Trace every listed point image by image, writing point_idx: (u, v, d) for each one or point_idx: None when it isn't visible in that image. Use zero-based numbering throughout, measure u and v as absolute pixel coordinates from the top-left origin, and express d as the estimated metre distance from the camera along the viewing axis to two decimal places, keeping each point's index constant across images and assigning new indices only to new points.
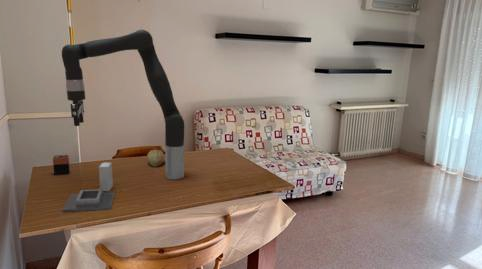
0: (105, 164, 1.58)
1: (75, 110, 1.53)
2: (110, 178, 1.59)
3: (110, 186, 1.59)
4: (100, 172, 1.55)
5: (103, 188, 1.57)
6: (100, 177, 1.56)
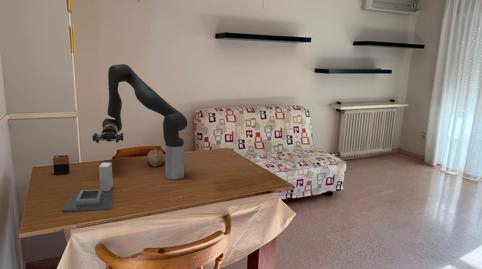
0: (105, 164, 1.58)
1: None
2: (110, 178, 1.59)
3: (110, 186, 1.59)
4: (100, 172, 1.55)
5: (103, 188, 1.57)
6: (100, 177, 1.56)
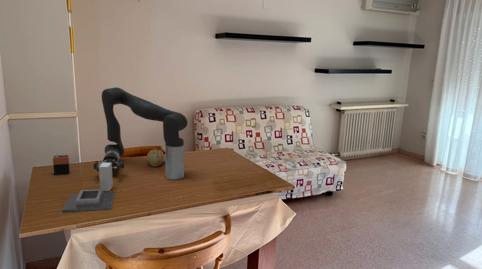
0: (105, 164, 1.58)
1: None
2: (110, 178, 1.59)
3: (110, 186, 1.59)
4: (100, 172, 1.55)
5: (103, 188, 1.57)
6: (100, 177, 1.56)
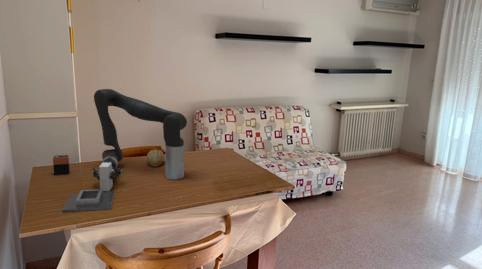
0: (105, 164, 1.58)
1: (92, 171, 1.61)
2: (110, 178, 1.59)
3: (110, 186, 1.59)
4: (100, 172, 1.55)
5: (103, 188, 1.57)
6: (100, 177, 1.56)
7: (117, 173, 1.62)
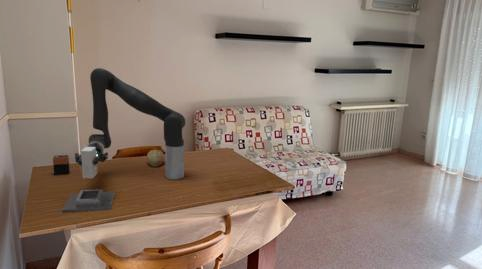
0: (88, 148, 1.43)
1: (75, 156, 1.46)
2: None
3: (94, 173, 1.44)
4: (82, 157, 1.40)
5: (86, 175, 1.42)
6: (82, 162, 1.41)
7: (102, 159, 1.47)
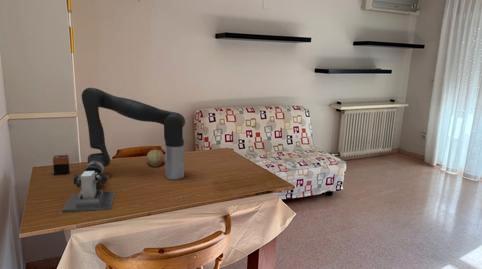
0: (87, 173, 1.43)
1: (74, 177, 1.47)
2: (94, 188, 1.45)
3: (94, 197, 1.45)
4: (82, 182, 1.40)
5: None
6: (83, 187, 1.41)
7: (104, 180, 1.47)
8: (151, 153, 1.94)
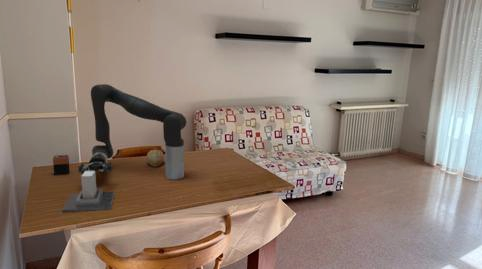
0: (88, 173, 1.43)
1: None
2: (94, 188, 1.45)
3: (94, 197, 1.45)
4: (83, 182, 1.41)
5: None
6: (83, 187, 1.41)
7: (110, 168, 1.60)
8: (151, 153, 1.94)
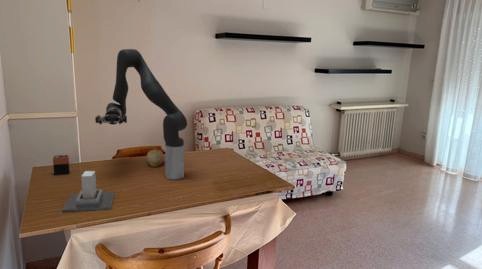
0: (88, 173, 1.43)
1: None
2: (94, 188, 1.45)
3: (94, 197, 1.45)
4: (83, 182, 1.41)
5: None
6: (83, 187, 1.41)
7: (125, 120, 1.67)
8: (151, 153, 1.94)
